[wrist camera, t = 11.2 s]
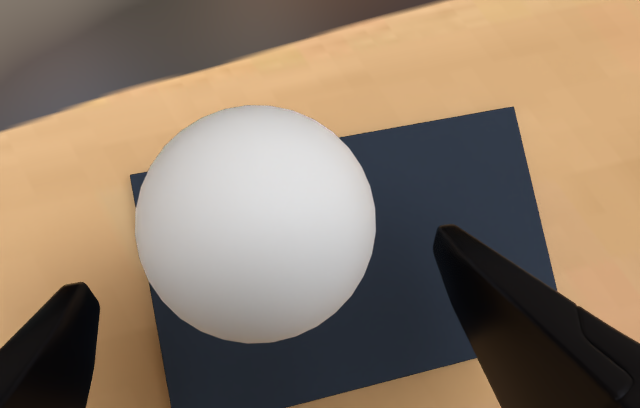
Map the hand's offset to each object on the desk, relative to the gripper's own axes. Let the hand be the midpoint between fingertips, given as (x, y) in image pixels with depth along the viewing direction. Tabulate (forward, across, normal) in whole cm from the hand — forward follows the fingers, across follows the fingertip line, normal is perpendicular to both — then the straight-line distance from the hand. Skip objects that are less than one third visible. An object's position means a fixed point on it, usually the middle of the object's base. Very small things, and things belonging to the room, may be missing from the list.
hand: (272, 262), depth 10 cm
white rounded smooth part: (+7, 0, +5) cm, 9 cm away
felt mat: (+5, -4, +7) cm, 10 cm away
